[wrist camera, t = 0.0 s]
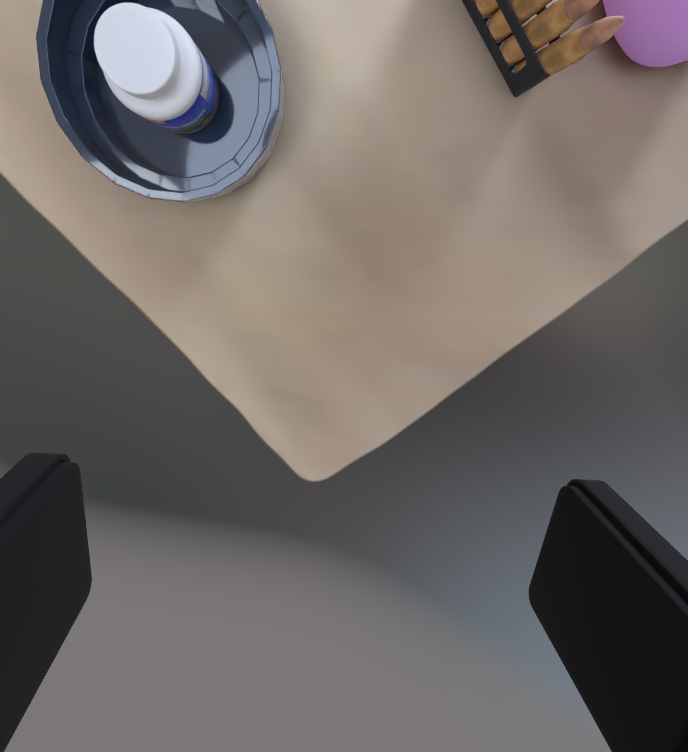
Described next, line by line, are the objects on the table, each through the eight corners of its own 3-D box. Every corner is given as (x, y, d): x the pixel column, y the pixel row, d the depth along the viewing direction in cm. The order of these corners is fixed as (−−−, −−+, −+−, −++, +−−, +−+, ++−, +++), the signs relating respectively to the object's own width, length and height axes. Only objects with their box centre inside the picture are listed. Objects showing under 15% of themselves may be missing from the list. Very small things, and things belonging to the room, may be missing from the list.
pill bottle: (151, 138, 33) (94, 116, 24) (131, 49, 31) (61, -11, 22) (227, 131, 34) (198, 106, 25) (212, 42, 32) (175, -20, 23)
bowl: (65, -50, 30) (21, -96, 25) (289, -15, 31) (287, -51, 27) (86, 189, 35) (51, 187, 30) (278, 209, 36) (274, 211, 32)
